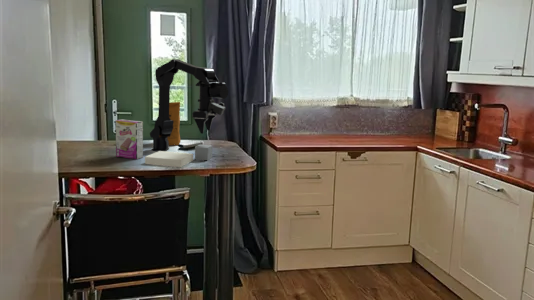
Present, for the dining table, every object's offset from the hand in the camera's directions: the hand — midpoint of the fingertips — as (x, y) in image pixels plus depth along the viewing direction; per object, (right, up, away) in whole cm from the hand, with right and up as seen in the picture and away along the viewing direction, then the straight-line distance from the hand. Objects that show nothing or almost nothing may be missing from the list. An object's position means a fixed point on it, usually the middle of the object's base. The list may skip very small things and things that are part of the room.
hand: (205, 131), depth 209 cm
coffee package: (-24, -5, +33) cm, 41 cm away
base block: (-14, -13, -8) cm, 21 cm away
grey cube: (-1, -12, +2) cm, 12 cm away
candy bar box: (-33, -12, -2) cm, 35 cm away
